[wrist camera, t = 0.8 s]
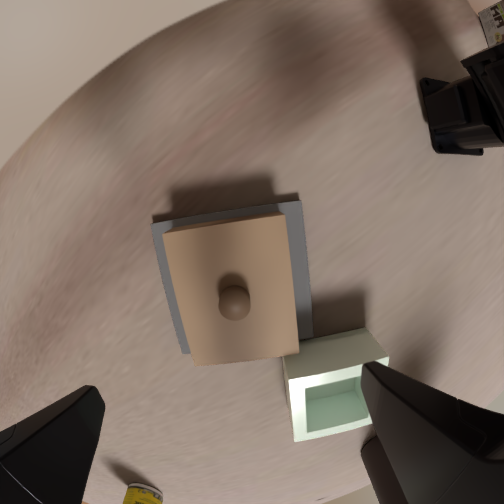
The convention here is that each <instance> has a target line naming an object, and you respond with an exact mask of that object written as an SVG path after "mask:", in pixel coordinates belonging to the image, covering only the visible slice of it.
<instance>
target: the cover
mask: <svg viewBox="0 0 504 504" xmlns="http://www.w3.org/2000/svg"><path fill="white" fill-rule="evenodd" d="M162 236H163V241H164V246H165V251H166V256H167V260H168V265H169V270H170V274H171V279H172V283H173V287H174V291H175V295H176V300H177V304H178V308H179V311H180V315H181V319H182V323H183V327H184V330H185V334H186V337H187V341H188V345H189V348H190V351H191V355H192V358H193V361H194V365H195V366H205V365H217V364H227V363H236V362H244V361H252V360H260V359H267V358H274V357H280V356H286V355H292V354H298V353H299V342H298V330H297V319H296V308H295V298H294V288H293V278H292V269H291V260H290V251H289V243H288V235H287V227H286V219H285V214H283V213H281V212H280V211H277V212H270V213H263V214H256V215H249V216H243V217H236V218H229V219H223V220H217V221H210V222H204V223H198V224H192V225H186V226H180V227H175V228H172V229H170V230H168V231H166V232H165V233H163V234H162Z"/></svg>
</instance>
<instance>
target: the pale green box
mask: <svg viewBox="0 0 504 504" xmlns="http://www.w3.org/2000/svg"><path fill="white" fill-rule="evenodd" d="M298 342H299V353H298V354H292V355H286V356H282V362H283V371H284V379H285V388H286V397H287V406H288V411H289V417H290V422H291V427H292V432H293V437H294V442H298V441H304V440H309V439H314V438H319V437H323V436H328V435H332V434H336V433H340V432H344V431H348V430H352V429H355V428H359V427H362V426H365V425H369V424H372V420H371V417H370V414H369V411H368V408H367V405H366V402H365V399H364V396H363V393H362V390H361V385H360V381H361V371H362V365H363V364H364V363H366V362H370V361H377V362H379V363H381V364H383V365H385V366H388V362H389V356H388V354H387V353H386V352H385V351H384V349H383V348H382V347H381V346H380V344H379V343H378V342H377V341H376V340H375V338H374V337H373V336H372V335H371V333H370V332H369V331H368V330H367V329H366V327H364V328H360V329H356V330H351V331H347V332H342V333H338V334H333V335H328V336H323V337H318V338H313V339H308V340H302V341H298Z"/></svg>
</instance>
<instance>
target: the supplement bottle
mask: <svg viewBox="0 0 504 504" xmlns="http://www.w3.org/2000/svg"><path fill="white" fill-rule="evenodd" d="M162 502H163V495H162V493H161V492H159V491H158V490H156V489H154V488H152V487H150V486H147V485H144V484H139V483H132V484H130V485H129V486H128V488H127V492H126V495H125V498H124V501H123V504H162Z"/></svg>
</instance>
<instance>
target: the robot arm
mask: <svg viewBox="0 0 504 504" xmlns="http://www.w3.org/2000/svg"><path fill="white" fill-rule="evenodd" d="M460 62H461V63H462V65H463V66H464V68H466V69H467V71H468V73H469V74H470V76H467V77H465V78H462V79H460V80H457V81H455V82H452V83H448V82H444V81H440V80H435V79H430V78H423V79H421V80H420V85H421V89H422V92H423V96H424V100H425V105H426V109H427V114H428V118H429V123H430V129H431V134H432V140H433V147H434V150H435V152H436V153H438V154H460V155H475V156H482V155H483V153H484V152H483V148H489V147H504V41H502V42H499V43H497V44H495V45H492V46H490V47H488V48H486V49H483V50H481V51H479V52H477V53H475V54H473V55H471V56H469V57H467V58H465V59H463V60H462V61H460ZM425 83H426V84H427V85H426V84H425ZM439 146H440V149H439ZM360 385H361V390H362V393H363V396H364V399H365V402H366V405H367V408H368V411H369V414H370V417H371V420H372V423H373V426H374V428H375V431H376V433H377V435H378V437H379V439H380V441H381V443H382V445H383V448H384V450H385V452H386V454H387V456H388V458H389V460H390V463H391V465H392V467H393V469H394V471H395V474H396V476H397V478H398V480H399V483H400V485H401V487H402V489H403V492H404V494H405V496H406V499H407V501H408V503H409V504H504V414H501V413H497V412H493V411H490V410H487V409H484V408H481V407H478V406H475V405H473V404H470V403H468V402H465V401H463V400H460V399H458V400H457V398H456V397H453V396H451V395H449V394H446V393H444V392H442V391H440V390H437V389H435V388H433V387H431V386H428V385H426V384H424V383H422V382H420V381H417V380H415V379H413V378H411V377H409V376H407V375H404V374H402V373H400V372H398V371H396V370H394V369H392V368H390V367H388V366H385V365H383V364H381V363H379V362H377V361H370V362H366V363H364V364H363V365H362V371H361V381H360ZM104 412H105V403H104V401H103V399H102V397H101V395H100V393H99V391H98V389H97V388H96V387H95V386H91V385H85V386H83V387H81V388H79V389H77V390H76V391H74V392H72V393H70V394H69V395H67V396H65V397H63V398H62V399H60V400H58V401H56V402H55V403H53V404H51V405H49V406H47V407H46V408H44V409H42V410H40V411H38V412H37V413H35V414H33V415H31V416H29V417H27V418H26V419H24V420H22V421H20V422H18V423H17V424H14V425H12V426H11V427H9V428H7V429H5V430H3V431H1V432H0V504H81V503H82V499H83V495H84V491H85V487H86V483H87V479H88V476H89V472H90V469H91V465H92V462H93V458H94V455H95V451H96V448H97V445H98V441H99V436H100V431H101V426H102V422H103V417H104Z"/></svg>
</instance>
